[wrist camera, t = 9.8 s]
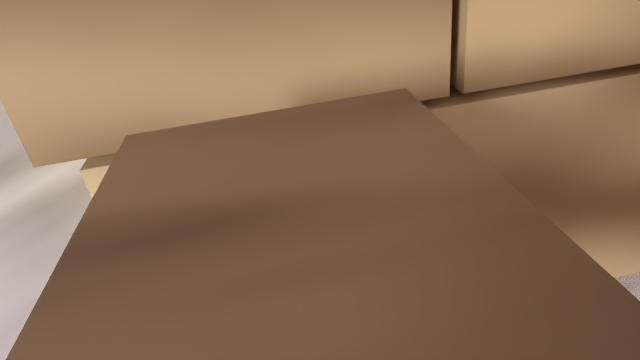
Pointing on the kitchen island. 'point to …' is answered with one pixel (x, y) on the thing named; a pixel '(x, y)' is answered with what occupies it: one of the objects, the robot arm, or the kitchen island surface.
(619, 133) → the plank
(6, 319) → the kitchen island surface
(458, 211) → the block
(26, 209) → the kitchen island surface
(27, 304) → the kitchen island surface
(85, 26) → the laid row
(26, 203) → the kitchen island surface
